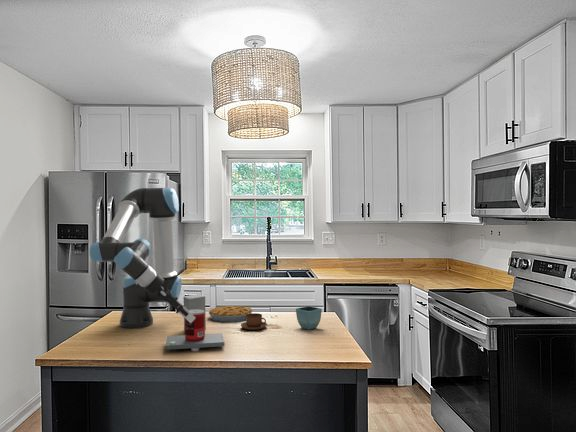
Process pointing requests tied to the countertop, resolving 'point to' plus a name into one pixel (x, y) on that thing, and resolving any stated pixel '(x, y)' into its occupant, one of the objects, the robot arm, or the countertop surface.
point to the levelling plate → (182, 343)
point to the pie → (229, 313)
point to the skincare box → (195, 303)
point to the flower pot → (308, 317)
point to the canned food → (195, 326)
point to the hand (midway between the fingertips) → (189, 316)
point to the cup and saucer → (254, 322)
